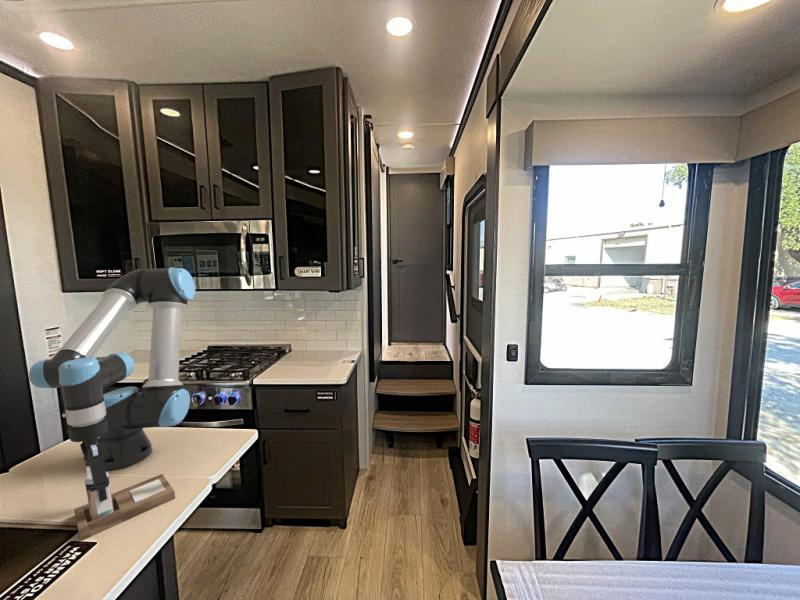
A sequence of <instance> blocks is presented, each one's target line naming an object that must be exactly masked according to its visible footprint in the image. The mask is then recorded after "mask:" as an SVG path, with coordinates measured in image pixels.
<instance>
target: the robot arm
mask: <svg viewBox="0 0 800 600" xmlns="http://www.w3.org/2000/svg"><path fill="white" fill-rule="evenodd" d="M195 294H196V285H195V281H194V278H193V277H192V275H191V274H190V272H189V271H188V270H187V269H185V268H184V267H183V268H182V267H166V268H164V267H163V268H162V267H161V268H139V269H136V270H133V271H130V272H128V273H126V274H124V275H123V276H121V277H119V278H118V279H116V280H115V281H114V282H113V283H112V284H111V285H109V286H108V287H107V289H106V290H104V292H103V293H102V300H101V301H100V302H99V303H98V304H97V305H96V306H95V308H94V309H93V310H92V311H91V312H90V313H89V315H88V316H87V317H86V318H85V320H83V322H82V323H81V324H80V326H78V327H77V329H76V330H75V331H74V332H73V333H72V335H70V337H69V338H68V339H67V340H66V341H65V343H64V344H63V345H62V346H61V348H60V349H58V351H57V352H56V353H55V354H54V355H53V357H51V358H48V359H46V358H45V359H42V360H38V361H37V362H35V363H33V365H32V366H31V367H30V370H29V373H28V378H29V381H30V383H31V384H32V385H33V386H34V387H36V388H40V389H43V388H44V389H57V388H60V389H61V390H60V391H61V394H62V400H63V405H64V406H63V407H64V408H63V409H64V411H65V412H63V413H62V415H61V416H62V418H66V423H67V424H66V425H68V427H67V431H68V438H69V441H70V442H72V443H79V445H80V450H81V452H82V455H83V461H84V465H85V472H86V477H87V476H88V475H90V474H91V475H92V479H93V484H94V488H91V489H90V490H91V492H92V491H94V496H95V502H96V508H97V514H101V513H103V512H105V511H108V510H110V509H112V507H111V500H110V494H109V488H108V486H109V483H110V481H109V482H108V479H107V474H106V472H107V471H115V470H120V469H124V468H127V467H130V466H133V465H136V464H138V463H139V462H142V461H143V460H144V459H147V457H149V456H150V455H151V454H152V452H153V446H152V442H151V440H150V439H149V437H148V436H147V434H146V432H145V431H144V429H147V428H148V429H149V428H150V429H152V428H166V427H173V426H176V425H178V424H180V423H182V421H183V420H184V419H185V417H186V416H187V414H188V411H189V408H190V404H191V396H190V393H189V391H188V390H187V389H185V388H184V383H183V382H182V381H180V379H179V375H180V374H179V373H180V355H181V354H180V353H181V336H182V320H183V319H182V318H183V311H184V310H185V309H186V308H188V301H189V302H190V301H191V300H193V299H194V298H195V296H196V295H195ZM145 302H146V303H147V306H148V307H149V308H151V310H152V322H151V334H150V348H149V349H150V352H149V365H148V380H147V382H146V383H144V384H143V385H142V386H141V387H142V388H141V391H140V392H139V389H138V387H137V386H134V385H133V386H125V387H120V388H117V389H114V390H111V391H109V392H106V393H104V390H105V389H107V388H108V387H111V386H112V385H115V384H116V383H119V382H122V381H123V380H125V379H126V378H127V377H129V376H130V375H131V374H132V373H133V372H134V370H135V360H134V359H133V358H132V356H130V355H129V354H128V353H126V352H116V353H111V354H109V355H105V356H96V357H95V354H96V353H97V352H98V350H99V349H100V348H101V347H102V345H103V344H104V343H105V341H106V340H107V339H108V338H109V336H110V335H111V334H112V332H113V331H114V329H115V328H116V327H117V326H118V324H119V323H120V322H121V321H122V319H123V318H124V316H125V315H126V314H127V312H129V311H132V310H134V309H135V308H136V306H137V305H139V304H141V303H145ZM81 442H82V443H81Z"/></svg>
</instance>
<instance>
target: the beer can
mask: <svg viewBox="0 0 800 600" xmlns="http://www.w3.org/2000/svg"><path fill="white" fill-rule="evenodd" d="M106 474H107V479H108V482H109V486H108V488H109V494H110V500H111V507H112V509H110V510H108V511H105V512H103V513H101V514H97V508H96V502H95V496H94V491H92V492H91V490H90V489H91V488H94V484H93V479H92V475H91V474H90V475H88V476H87V475H86V478H85V481H84V485H85V491H86V496H87V501H88V503H89V509H90V515H91V516H90V522H91V521H93V520H95V519H98V518H100V517H102V516H105V515H107V514H109V513H112V512H114V511H115V509H114V507H113V502H112V495H111V494H112V490H111V485H110V484H111V483H110V478H109V477H110V476H109V475H110V474H109V473H108V472H107V471H106ZM88 503H87V504H88Z"/></svg>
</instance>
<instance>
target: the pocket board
mask: <svg viewBox="0 0 800 600" xmlns="http://www.w3.org/2000/svg"><path fill="white" fill-rule="evenodd" d="M175 494H176V492H175V490H174V489H173V487H172V485H171V484H170V483H169V481H168V480H167V479H166V477H165V476H164V474H163V473H161V474H159V475H157V476H154V477H150V478H149V479H146V480H143V481H140V482H139V483H137V484H132V485H131V486H128V487H126V488H123V489H121V490H119V491H116V492H114V493H111V495H112V502H113V508H114V507H116V508H117V510H114V512H112V513H109V514H107V515H105V516H102V517H100V518H98V519H95V520H93V521H91V520H90V521H89V522H88V521H87V518H91V515H90V509H89V503H86V504H84V505H82V506H78V507H76V508H74V509H73V512H74V518H75V522H76V527H77V530H78V534H79V539H80V541H81V542H82V541H84V540H86V539H88V538H90V537H93V536H95V535H97V534H99V533H102V532H103V531H106V530H108V529H110V528H113V527H115V526H118V525H119V524H121V523H123V522H126V521H128V520H131V519H133V518H135V517H137V516H139V515H142V514H144V513H147V512H149V511H150V510H152V509H155V508H157V507H159V506H161V505H164V504H165V503H167V502H170V501H172V500H175V499H176V495H175Z"/></svg>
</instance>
